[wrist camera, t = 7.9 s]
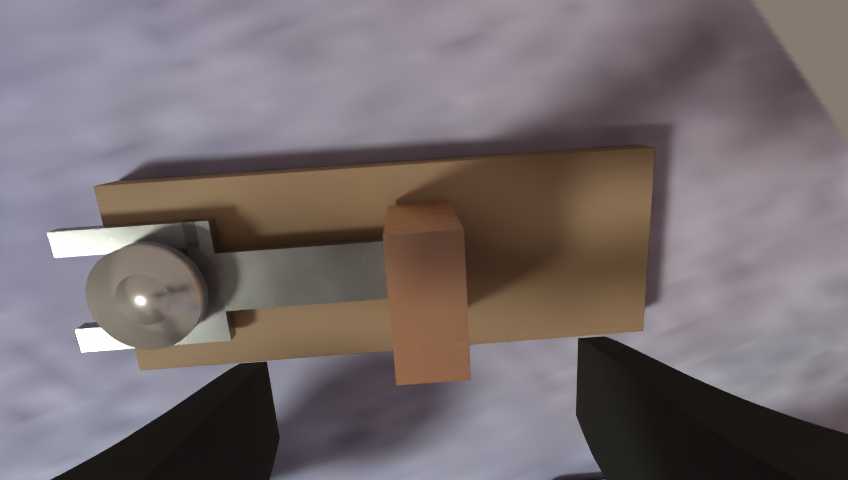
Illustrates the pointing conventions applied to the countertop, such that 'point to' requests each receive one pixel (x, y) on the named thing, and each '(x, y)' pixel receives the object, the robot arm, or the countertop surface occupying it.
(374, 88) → the countertop surface
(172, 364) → the wooden board
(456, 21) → the countertop surface
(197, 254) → the forked latch lever
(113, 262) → the dished metal disc
